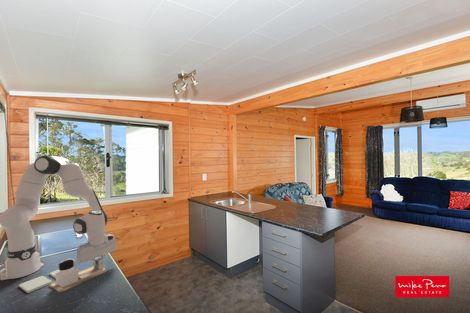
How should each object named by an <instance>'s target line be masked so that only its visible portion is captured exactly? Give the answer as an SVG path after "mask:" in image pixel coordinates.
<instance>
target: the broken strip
mask: <svg viewBox="0 0 470 313" xmlns="http://www.w3.org/2000/svg"><path fill="white" fill-rule="evenodd" d="M68 259H71V260H73V261H74V268H76V260H75V259H73V258H70V257H69V258H67V259H66V260H68ZM76 269H77V268H76ZM58 271H59V269H56V270H53V271H51V272H49V276H50V277H52V278H54V279H56V274H55V273H56V272H58ZM79 271H80V269H78V272H79ZM52 282H53V280H51V279H49V278H47V277H46V276H44V275H40V276H38V277H35V278H31V279H30V280H27V281H25V282H22V283H20V284H18V287H19V288H20V289H21V290H23V291H24V292H26V294H29V293H32V292H35V291H37V290H39V289H43V288H44V287H47V286H49V284H50V283H52Z"/></svg>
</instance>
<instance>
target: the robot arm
mask: <svg viewBox="0 0 470 313" xmlns="http://www.w3.org/2000/svg"><path fill="white" fill-rule="evenodd" d="M56 175H57V176H58V175H59V177H60V178H61V181H62V186H63V190H64V192H65V193H66V194H67V195H68V196H70V197H74V198H79V199H83V200H85V201H87V203H88V205H89V208H90V211H89V212H87V213H86V214H85V215H82V216H81V217H78V218H76V219H75V220H74V222H73V225H72V226H73V232H75V233H76V234H78V235H84V234H87V242H86V243H83V244H79V245H78V247H77V248H76V262H78V263H79V264H83V263H85V262H88V261H91V263H92V266H95V265H97V262H96V261H94V260H95V258H99V257H100V259H103V260H104V259H105V257H106V254H108V253H111V252H113V251H115V250H116V249H117V241H116V239H115V235H114V234H111V233H107V232H106V230H105V228H106V225H107V224H108V220H109V219H108V218H109V217H108V216H107V214H106V212H105V211H104V209H103V207H102V204H101V203H100V201H99V198H98V196H97V193H96V191H95V189H94V188H92V187H90V185H89V184H88V183H87V181H86V180H87V179H86V178H85V174H84V172H83V169H82V168H81V166H80V165H79V164H78V163H76V162H72V160H71V159H69V158H67V157H63V156H59V155H50V154H48V155H45V154H44V155H41V156H39V157H37V158H35V161H34V162H33V163H30V164H29V165H28V166H27V167H26V168H25V171H24V172H23V174H22V175H21V177H20V180H19V183H18V185H17V188H16V190H15V202H14V204H13V206H11V207H8V208H7V209H5V210H4V211H3V212H2V213H1V214H0V226H2V227H3V228H4V231H5V233H6V236H7V244H8V245H7V247H8V248H7V250H8V251H7V254H6V255H7V256H6V257H7V258H6V259H5V261H4V264H1V265H0V281H6V280H13V279H19V278H23V277H26V276H30V275H32V274H34V273H36V272H38V270H40V269H41V268H42V267H43V266H44V265H45V264H44V263H42V262H41V257H40V255H41V254H40V252H38V251H37V246H36V244H35V231H34V230H33V229H32V227H31V223H30V220H32V219H34V218H35V216H36V215H37V214H38V210H39V209H38V208H39V203H40V199H41V194H42V192H43V189H44V187H45V183H46V182H47V179H48V177H49V176H56Z"/></svg>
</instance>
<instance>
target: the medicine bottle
mask: <svg viewBox="0 0 470 313" xmlns="http://www.w3.org/2000/svg"><path fill="white" fill-rule="evenodd" d="M67 259H68V260H67ZM67 259H65V260H62V261H60V262H59V264H58V268H59V271H58V272H56V273H55V274H56V278H55V281H56V284H57V285H58V286H60V287H62V288H63V287H65V286H67V285H70V284H72V283H74V282H76V281H79V279H78V270H79V269H78V268H74V261H73V260H74V259H73V260H71V259H72V258H71V259H70V258H67Z"/></svg>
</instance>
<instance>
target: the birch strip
mask: <svg viewBox="0 0 470 313" xmlns="http://www.w3.org/2000/svg"><path fill="white" fill-rule="evenodd" d="M94 261H96V262H97V265H95V266H93V265H91V266H89V267H86V268H84V269H82V270H79V272H78V279H79V281H76V282H74V283H72V284H70V285H67V286H65V287H63V288H62V287H60V286H58V285H57V284H56V280H55V281H52V283H50V284H49V285H48V286H49V287H50V288H51V289H53V290H54V291H56V292H58V293H63V292H65V291H67V290H70V289H72V288H74V287H76V286H78V285H80V284H82V283H84V282H87V281H89V280H91V279H93V278H96V277H98V276H99V275H102V274H104V273H107V272H108V268H105V267H104V264H103V263H104V259H101V257H100V258H99V257H96V258H95V260H94Z"/></svg>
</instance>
